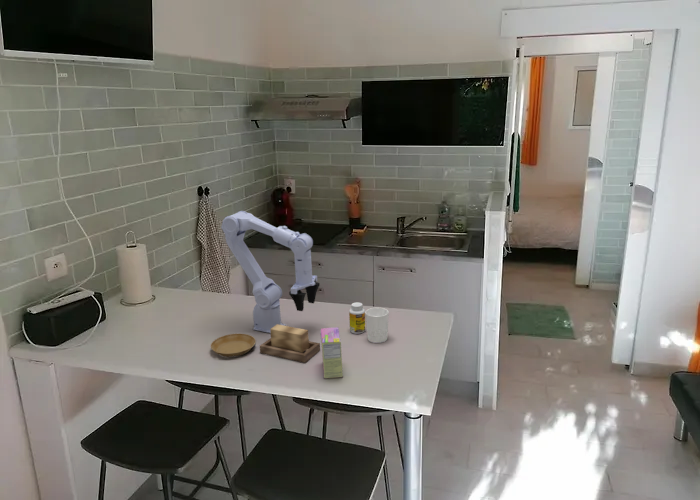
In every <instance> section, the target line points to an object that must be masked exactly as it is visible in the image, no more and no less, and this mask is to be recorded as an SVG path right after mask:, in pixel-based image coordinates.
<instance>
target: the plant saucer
mask: <svg viewBox="0 0 700 500" xmlns="http://www.w3.org/2000/svg"><path fill="white" fill-rule="evenodd" d="M256 341H257V340H256V338H255V337H254V336H252V335H251V334H247V333H230V334H225V335H222V336H219V337H217V338H216V339H214V340H213V341H212V342H211V343H210V349H211V350H212V351H213V352H214V353H215V354H216V355H219V356H220V357H223V358H235V357H240V356H243V355H245V354H247V353H248V352H250V350H251V349H252V348H253V347H254V346H255V345H256Z"/></svg>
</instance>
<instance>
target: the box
mask: <svg viewBox="0 0 700 500" xmlns="http://www.w3.org/2000/svg"><path fill="white" fill-rule="evenodd" d="M320 339H321V341H320V342H321V343H320V344H321V353H322V355H321V356H322V368H323V379H336V378H343V356H342V354H343V353H342V341H341V339H342V338H341V335H340V329H339V326H338V327H325V328H320Z"/></svg>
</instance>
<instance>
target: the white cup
mask: <svg viewBox="0 0 700 500" xmlns="http://www.w3.org/2000/svg"><path fill="white" fill-rule="evenodd" d="M389 315H390V314H389V310H388V309H387V308H384V307H371V308H368V309H365V329H366V333H367V335H366V336H367V340H368V342H369V343H370V342H371V343H374V344H382V343H384V342H387V340H388V332H389Z"/></svg>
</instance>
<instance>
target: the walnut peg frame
mask: <svg viewBox="0 0 700 500" xmlns="http://www.w3.org/2000/svg"><path fill="white" fill-rule="evenodd" d="M320 351H321V343H320V342H317V341H316V342H315V341H310V340H309V348H307V349H306V350H305V351H304V352H299V351H294V350H290V349H285V348H280V347H276V346H272V344H271V337H270V338H269V339H267V340H266V341H264V342H263V343H261V344H260V345H259V353H260V354H262V355H263V354H264V355H267V356H271V357H276V358H281V359H286V360H290V361H293V362H298V363H303V364H306V363H307V362H309V361H310V360H311V359H312V358H313V357H315V356H316V355H317V354H318V353H319V352H320Z"/></svg>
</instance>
